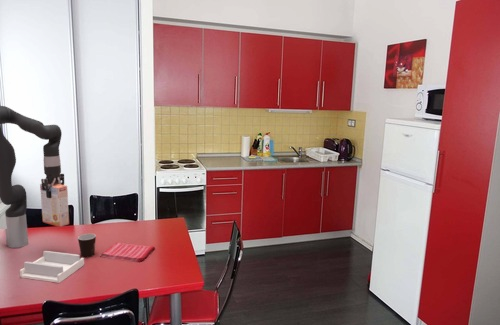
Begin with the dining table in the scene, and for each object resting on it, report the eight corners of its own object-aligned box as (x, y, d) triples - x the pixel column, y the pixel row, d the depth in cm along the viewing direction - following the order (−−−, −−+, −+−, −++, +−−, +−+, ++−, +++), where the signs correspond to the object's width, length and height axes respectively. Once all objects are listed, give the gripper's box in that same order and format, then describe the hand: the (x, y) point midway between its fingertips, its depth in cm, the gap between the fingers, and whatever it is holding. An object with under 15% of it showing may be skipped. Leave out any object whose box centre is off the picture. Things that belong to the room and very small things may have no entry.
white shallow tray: (20, 277, 169) (19, 264, 168) (48, 260, 186) (47, 248, 185) (59, 282, 165) (58, 270, 164) (84, 264, 183) (83, 253, 181)
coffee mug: (90, 259, 189) (89, 240, 187) (75, 257, 190) (74, 238, 188) (103, 249, 200) (102, 232, 198) (89, 248, 202) (88, 230, 200)
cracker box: (70, 224, 192) (67, 185, 188) (59, 227, 187) (56, 187, 183) (53, 219, 199) (50, 181, 195) (42, 222, 194) (39, 183, 189)
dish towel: (141, 263, 187) (141, 258, 187) (99, 258, 191) (99, 253, 191) (156, 249, 204) (156, 245, 203) (116, 245, 208) (116, 240, 207)
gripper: (55, 161, 194) (57, 191, 198) (35, 166, 181) (37, 199, 184) (68, 162, 193) (70, 192, 196) (48, 167, 179) (51, 200, 183)
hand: (54, 195), depth 190 cm, fingers closed on cracker box, 7 cm apart
